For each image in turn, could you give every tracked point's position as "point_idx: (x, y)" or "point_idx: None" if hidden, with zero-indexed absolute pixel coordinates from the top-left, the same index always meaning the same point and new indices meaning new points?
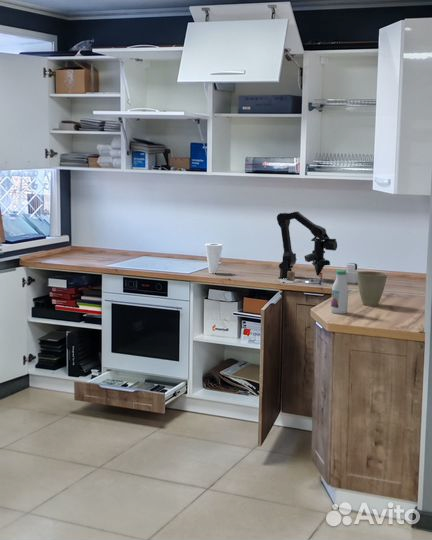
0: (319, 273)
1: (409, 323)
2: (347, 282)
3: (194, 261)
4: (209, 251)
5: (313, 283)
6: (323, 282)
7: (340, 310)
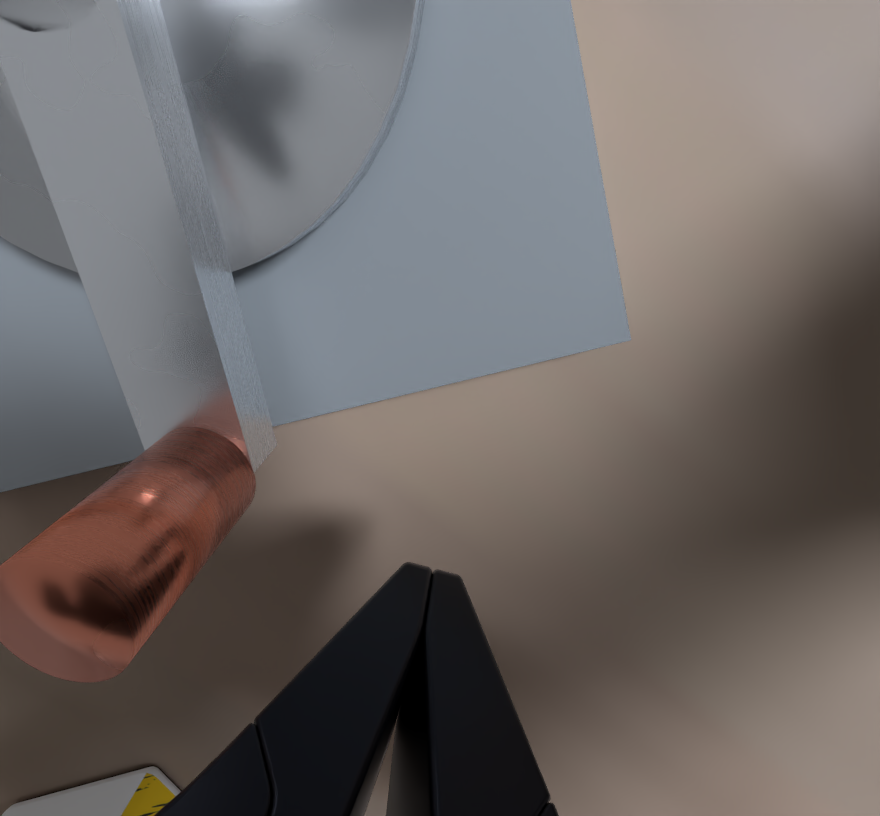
0: (67, 546)
1: None
2: (75, 809)
3: None
4: None
5: None
6: (122, 420)
7: None
